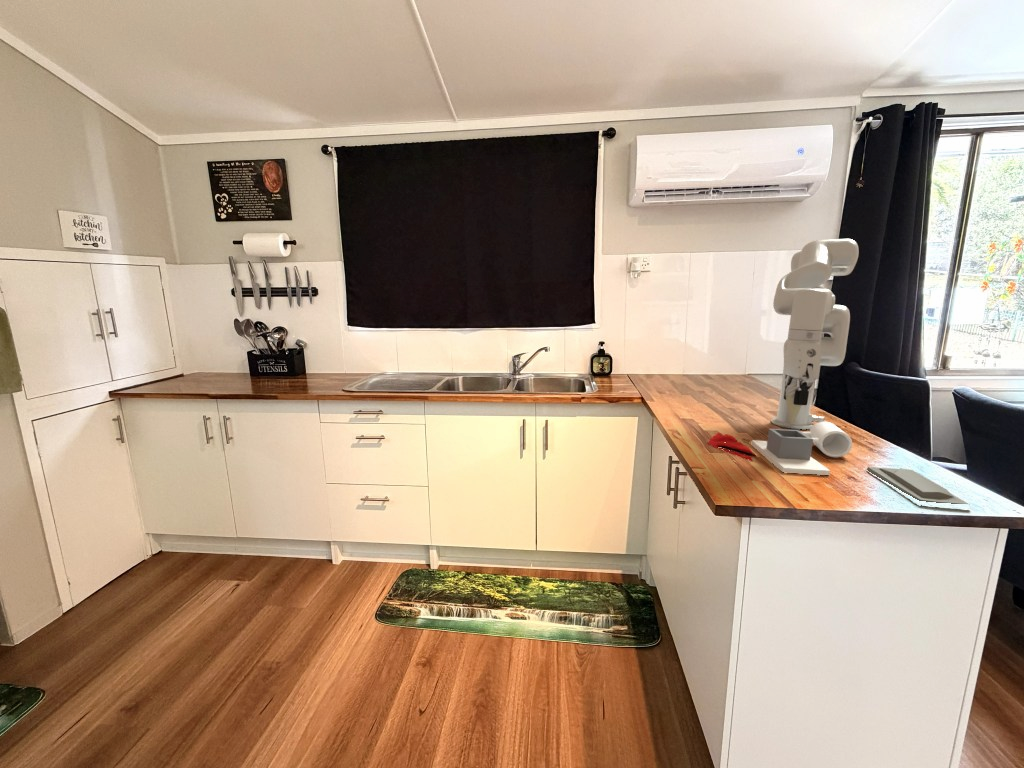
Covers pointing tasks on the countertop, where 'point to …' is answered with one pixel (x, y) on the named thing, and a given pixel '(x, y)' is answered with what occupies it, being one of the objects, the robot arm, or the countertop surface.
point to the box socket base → (790, 452)
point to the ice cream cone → (792, 400)
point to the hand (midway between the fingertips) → (794, 401)
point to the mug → (830, 439)
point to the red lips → (730, 445)
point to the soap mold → (915, 485)
